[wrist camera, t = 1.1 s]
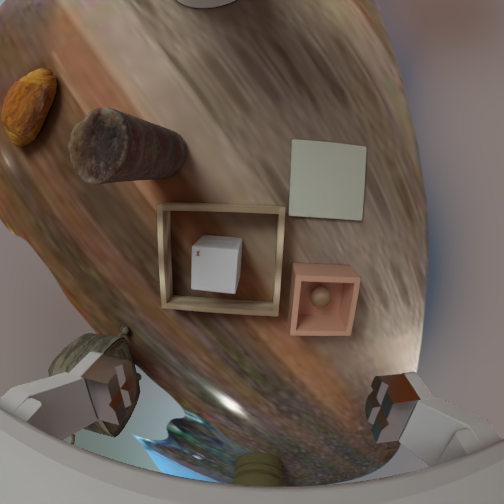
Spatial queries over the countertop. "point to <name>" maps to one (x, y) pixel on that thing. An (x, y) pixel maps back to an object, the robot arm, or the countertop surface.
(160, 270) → the crate
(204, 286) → the product box
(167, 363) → the countertop surface
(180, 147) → the grey brown tall cylinder
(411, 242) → the countertop surface
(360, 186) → the plate
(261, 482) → the piston
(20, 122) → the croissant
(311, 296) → the cork ball
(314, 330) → the pot
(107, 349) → the tabletop clock
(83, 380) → the robot arm
